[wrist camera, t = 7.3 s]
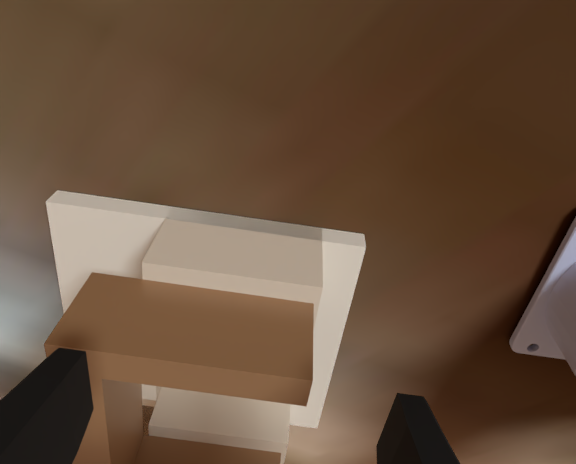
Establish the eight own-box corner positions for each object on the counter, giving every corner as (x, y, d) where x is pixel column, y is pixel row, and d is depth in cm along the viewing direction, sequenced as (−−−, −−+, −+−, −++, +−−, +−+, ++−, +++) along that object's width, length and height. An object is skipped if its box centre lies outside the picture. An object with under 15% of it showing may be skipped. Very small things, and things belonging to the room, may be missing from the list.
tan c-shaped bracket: (313, 303, 17) (312, 380, 14) (277, 467, 23) (271, 547, 20) (91, 272, 17) (44, 343, 14) (110, 445, 22) (79, 523, 19)
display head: (364, 234, 20) (373, 294, 17) (317, 412, 27) (317, 482, 23) (57, 190, 20) (3, 242, 16) (85, 381, 26) (50, 448, 23)
